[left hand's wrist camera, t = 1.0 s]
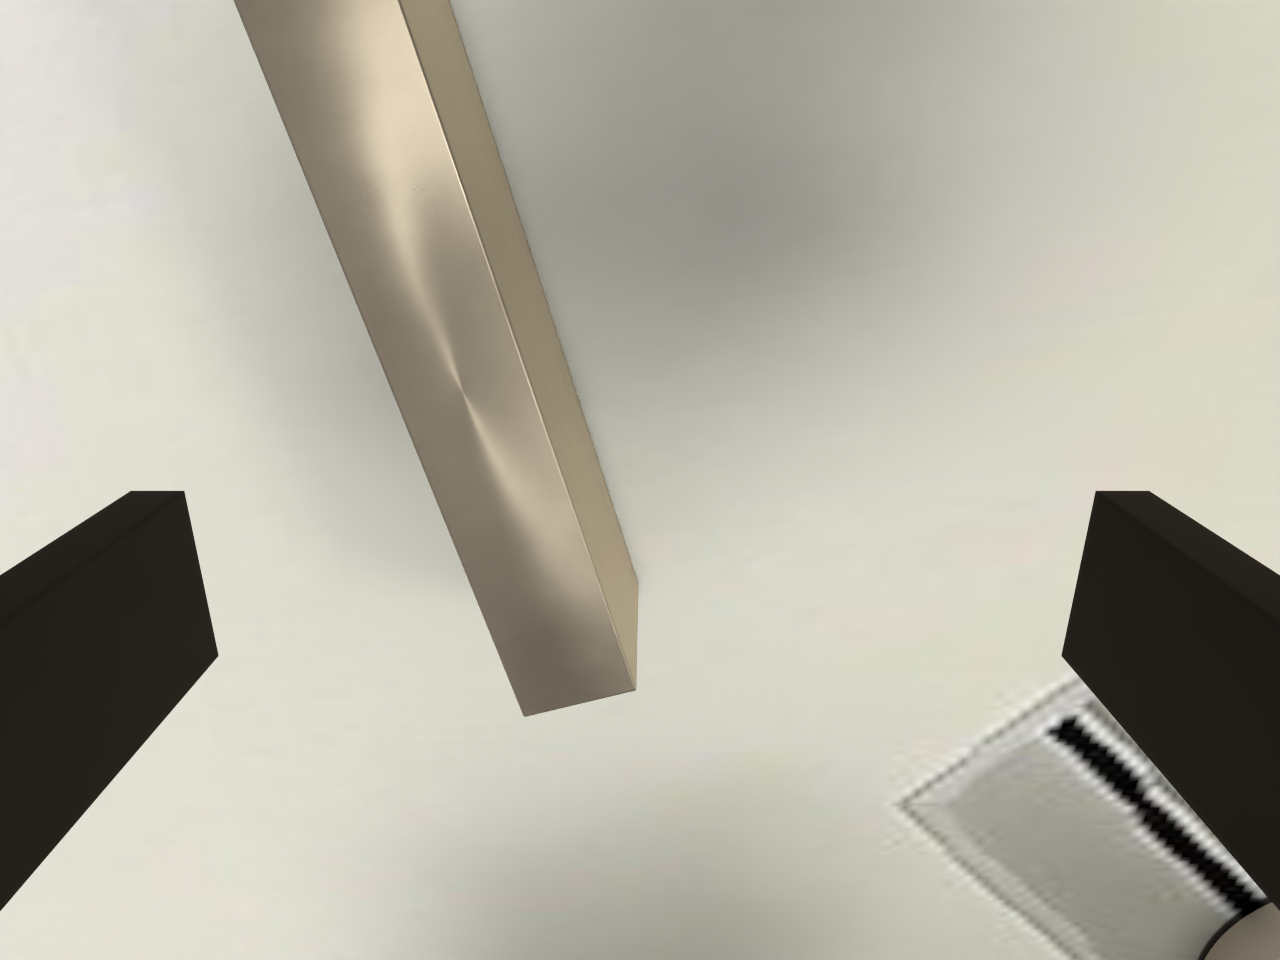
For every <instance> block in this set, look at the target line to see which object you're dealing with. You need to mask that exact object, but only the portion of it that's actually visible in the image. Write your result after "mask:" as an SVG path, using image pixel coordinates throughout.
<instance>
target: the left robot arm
mask: <svg viewBox="0 0 1280 960" xmlns="http://www.w3.org/2000/svg"><path fill="white" fill-rule="evenodd" d="M217 657H218V651H217V646H216V642H215V637H214V632H213V627H212V622H211V618H210V613H209V608H208V603H207V598H206V594H205V589H204V584H203V579H202V574H201V570H200V565H199V560H198V555H197V550H196V546H195V541H194V536H193V531H192V526H191V521H190V517H189V512H188V507H187V502H186V497H185V493H184V491H130V492H129V493H127V494H126V495H124V496H122V497H121V498H119V499H118V500H116V501H115V502H113V503H112V504H110V505H109V506H107V507H105V508H104V509H102V510H101V511H99V512H98V513H96V514H95V515H93V516H92V517H90V518H88V519H87V520H85V521H84V522H82V523H81V524H79V525H78V526H76V527H74V528H73V529H71V530H70V531H68V532H67V533H65V534H64V535H62V536H61V537H59V538H57V539H56V540H54V541H53V542H51V543H50V544H48V545H47V546H45V547H43V548H42V549H40V550H39V551H37V552H36V553H34V554H33V555H31V556H30V557H28V558H26V559H25V560H23V561H22V562H20V563H19V564H17V565H16V566H14V567H12V568H11V569H9V570H8V571H6V572H5V573H3V574H2V575H0V911H1V910H2V908H3V907H4V906H5V905H6V904H7V903H8V901H9V900H10V899H11V898H12V897H13V896H14V894H15V893H16V892H17V891H18V890H19V889H20V887H21V886H22V885H23V884H24V883H25V882H26V880H27V879H28V878H29V877H30V876H31V875H32V873H33V872H34V871H35V870H36V869H37V867H38V866H39V865H40V864H41V863H42V862H43V860H44V859H45V858H46V857H47V856H48V855H49V853H50V852H51V851H52V850H53V849H54V848H55V846H56V845H57V844H58V843H59V842H60V841H61V839H62V838H63V837H64V836H65V835H66V834H67V832H68V831H69V830H70V829H71V828H72V827H73V825H74V824H75V823H76V822H77V821H78V820H79V818H80V817H81V816H82V815H83V814H84V812H85V811H86V810H87V809H88V808H89V807H90V805H91V804H92V803H93V802H94V801H95V800H96V798H97V797H98V796H99V795H100V794H101V793H102V791H103V790H104V789H105V788H106V787H107V786H108V784H109V783H110V782H111V781H112V780H113V779H114V777H115V776H116V775H117V774H118V773H119V772H120V770H121V769H122V768H123V767H124V766H125V765H126V763H127V762H128V761H129V760H130V759H131V757H132V756H133V755H134V754H135V753H136V752H137V750H138V749H139V748H140V747H141V746H142V745H143V743H144V742H145V741H146V740H147V739H148V738H149V736H150V735H151V734H152V733H153V732H154V731H155V729H156V728H157V727H158V726H159V725H160V724H161V722H162V721H163V720H164V719H165V718H166V717H167V715H168V714H169V713H170V712H171V711H172V710H173V708H174V707H175V706H176V705H177V704H178V703H179V701H180V700H181V699H182V698H183V697H184V695H185V694H186V693H187V692H188V691H189V690H190V688H191V687H192V686H193V685H194V684H195V683H196V681H197V680H198V679H199V678H200V677H201V676H202V674H203V673H204V672H205V671H206V670H207V669H208V667H209V666H210V665H211V664H212V663H213V662H214V660H215V659H216V658H217ZM1062 657H1063V658H1064V659H1065V660H1066V662H1067V663H1068V664H1069V665H1070V666H1071V667H1072V669H1073V670H1074V671H1075V672H1076V673H1077V674H1078V676H1079V677H1080V678H1081V679H1082V680H1083V681H1084V683H1085V684H1086V685H1087V686H1088V687H1089V688H1090V690H1091V691H1092V692H1093V693H1094V694H1095V695H1096V697H1097V698H1098V699H1099V700H1100V701H1101V703H1102V704H1103V705H1104V706H1105V707H1106V708H1107V710H1108V711H1109V712H1110V713H1111V714H1112V715H1113V717H1114V718H1115V719H1116V720H1117V721H1118V722H1119V724H1120V725H1121V726H1122V727H1123V728H1124V729H1125V731H1126V732H1127V733H1128V734H1129V735H1130V736H1131V738H1132V739H1133V740H1134V741H1135V742H1136V743H1137V745H1138V746H1139V747H1140V748H1141V749H1142V750H1143V752H1144V753H1145V754H1146V755H1147V756H1148V757H1149V759H1150V760H1151V761H1152V762H1153V763H1154V765H1155V766H1156V767H1157V768H1158V769H1159V770H1160V772H1161V773H1162V774H1163V775H1164V776H1165V777H1166V779H1167V780H1168V781H1169V782H1170V783H1171V784H1172V786H1173V787H1174V788H1175V789H1176V790H1177V791H1178V793H1179V794H1180V795H1181V796H1182V797H1183V798H1184V800H1185V801H1186V802H1187V803H1188V804H1189V805H1190V807H1191V808H1192V809H1193V810H1194V811H1195V812H1196V814H1197V815H1198V816H1199V817H1200V818H1201V820H1202V821H1203V822H1204V823H1205V824H1206V825H1207V827H1208V828H1209V829H1210V830H1211V831H1212V832H1213V834H1214V835H1215V836H1216V837H1217V838H1218V839H1219V841H1220V842H1221V843H1222V844H1223V845H1224V846H1225V848H1226V849H1227V850H1228V851H1229V852H1230V853H1231V855H1232V856H1233V857H1234V858H1235V859H1236V860H1237V862H1238V863H1239V864H1240V865H1241V866H1242V867H1243V869H1244V870H1245V871H1246V872H1247V873H1248V875H1249V876H1250V877H1251V878H1252V879H1253V880H1254V882H1255V883H1256V884H1257V885H1258V886H1259V887H1260V889H1261V890H1262V891H1263V892H1264V893H1265V894H1266V896H1267V897H1268V898H1269V899H1270V900H1271V901H1272V903H1273V904H1274V905H1275V906H1276V907H1277V908H1278V910H1279V911H1280V575H1278V574H1277V573H1275V572H1274V571H1272V570H1271V569H1269V568H1268V567H1266V566H1264V565H1263V564H1261V563H1260V562H1258V561H1257V560H1255V559H1254V558H1252V557H1250V556H1249V555H1247V554H1246V553H1244V552H1243V551H1241V550H1240V549H1238V548H1237V547H1235V546H1233V545H1232V544H1230V543H1229V542H1227V541H1226V540H1224V539H1223V538H1221V537H1219V536H1218V535H1216V534H1215V533H1213V532H1212V531H1210V530H1209V529H1207V528H1206V527H1204V526H1202V525H1201V524H1199V523H1198V522H1196V521H1195V520H1193V519H1192V518H1190V517H1188V516H1187V515H1185V514H1184V513H1182V512H1181V511H1179V510H1178V509H1176V508H1175V507H1173V506H1171V505H1170V504H1168V503H1167V502H1165V501H1164V500H1162V499H1161V498H1159V497H1158V496H1156V495H1154V494H1153V493H1151V492H1150V491H1096V493H1095V497H1094V502H1093V507H1092V512H1091V517H1090V521H1089V526H1088V531H1087V536H1086V541H1085V545H1084V550H1083V555H1082V560H1081V565H1080V570H1079V574H1078V579H1077V584H1076V589H1075V594H1074V598H1073V603H1072V608H1071V613H1070V618H1069V622H1068V627H1067V632H1066V637H1065V642H1064V646H1063V651H1062Z"/></svg>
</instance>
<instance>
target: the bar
mask: <svg viewBox="0 0 1280 960" xmlns="http://www.w3.org/2000/svg"><path fill="white" fill-rule="evenodd" d="M234 2H235V5H236V7H237V10H238V12H239V15H240V17H241V20H242V22H243V25H244V27H245V30H246V32H247V34H248V37H249V39H250V42H251V44H252V47H253V49H254V52H255V54H256V57H257V59H258V62H259V64H260V67H261V69H262V71H263V74H264V76H265V79H266V81H267V84H268V86H269V89H270V91H271V94H272V96H273V99H274V101H275V104H276V106H277V108H278V111H279V113H280V116H281V118H282V121H283V123H284V126H285V128H286V131H287V133H288V136H289V138H290V141H291V143H292V146H293V148H294V150H295V153H296V155H297V158H298V160H299V163H300V165H301V168H302V170H303V173H304V175H305V178H306V180H307V183H308V185H309V187H310V190H311V192H312V195H313V197H314V200H315V202H316V205H317V207H318V210H319V212H320V215H321V217H322V220H323V222H324V225H325V227H326V229H327V232H328V234H329V237H330V239H331V242H332V244H333V247H334V249H335V252H336V254H337V257H338V259H339V262H340V264H341V266H342V269H343V271H344V274H345V276H346V279H347V281H348V284H349V286H350V289H351V291H352V294H353V296H354V299H355V301H356V303H357V306H358V308H359V311H360V313H361V316H362V318H363V321H364V323H365V326H366V328H367V331H368V333H369V336H370V338H371V341H372V343H373V345H374V348H375V350H376V353H377V355H378V358H379V360H380V363H381V365H382V368H383V370H384V373H385V375H386V378H387V380H388V382H389V385H390V387H391V390H392V392H393V395H394V397H395V400H396V402H397V405H398V407H399V410H400V412H401V415H402V417H403V420H404V422H405V424H406V427H407V429H408V432H409V434H410V437H411V439H412V442H413V444H414V447H415V449H416V452H417V454H418V457H419V459H420V461H421V464H422V466H423V469H424V471H425V474H426V476H427V479H428V481H429V484H430V486H431V489H432V491H433V494H434V496H435V498H436V501H437V503H438V506H439V508H440V511H441V513H442V516H443V518H444V521H445V523H446V526H447V528H448V531H449V533H450V536H451V538H452V540H453V543H454V545H455V548H456V550H457V553H458V555H459V558H460V560H461V563H462V565H463V568H464V570H465V573H466V575H467V577H468V580H469V582H470V585H471V587H472V590H473V592H474V595H475V597H476V600H477V602H478V605H479V607H480V610H481V612H482V614H483V617H484V619H485V622H486V624H487V627H488V629H489V632H490V634H491V637H492V639H493V642H494V644H495V647H496V649H497V652H498V654H499V656H500V659H501V661H502V664H503V666H504V669H505V671H506V674H507V676H508V679H509V681H510V684H511V686H512V689H513V691H514V693H515V696H516V698H517V701H518V703H519V706H520V708H521V711H522V713H523V716H525V717H526V716H530V715H534V714H538V713H543V712H547V711H551V710H555V709H559V708H564V707H568V706H572V705H576V704H580V703H585V702H589V701H593V700H597V699H601V698H606V697H610V696H614V695H618V694H622V693H626V692H631V691H635V690H636V675H637V626H638V581H637V578H636V575H635V572H634V569H633V566H632V563H631V560H630V556H629V553H628V550H627V547H626V544H625V541H624V538H623V535H622V532H621V529H620V526H619V523H618V519H617V516H616V513H615V510H614V507H613V504H612V501H611V498H610V495H609V492H608V489H607V486H606V483H605V479H604V476H603V473H602V470H601V467H600V464H599V461H598V458H597V455H596V452H595V449H594V446H593V442H592V439H591V436H590V433H589V430H588V427H587V424H586V421H585V418H584V415H583V412H582V409H581V405H580V402H579V399H578V396H577V393H576V390H575V387H574V384H573V381H572V378H571V375H570V372H569V369H568V365H567V362H566V359H565V356H564V353H563V350H562V347H561V344H560V341H559V338H558V335H557V332H556V328H555V325H554V322H553V319H552V316H551V313H550V310H549V307H548V304H547V301H546V298H545V295H544V291H543V288H542V285H541V282H540V279H539V276H538V273H537V270H536V267H535V264H534V261H533V258H532V255H531V251H530V248H529V245H528V242H527V239H526V236H525V233H524V230H523V227H522V224H521V221H520V218H519V214H518V211H517V208H516V205H515V202H514V199H513V196H512V193H511V190H510V187H509V184H508V181H507V177H506V174H505V171H504V168H503V165H502V162H501V159H500V156H499V153H498V150H497V147H496V144H495V140H494V137H493V134H492V131H491V128H490V125H489V122H488V119H487V116H486V113H485V110H484V107H483V104H482V100H481V97H480V94H479V91H478V88H477V85H476V82H475V79H474V76H473V73H472V70H471V67H470V63H469V60H468V57H467V54H466V51H465V48H464V45H463V42H462V39H461V36H460V33H459V30H458V26H457V23H456V20H455V17H454V14H453V11H452V8H451V5H450V2H449V0H234Z"/></svg>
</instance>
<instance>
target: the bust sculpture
mask: <svg viewBox="0 0 1280 960" xmlns="http://www.w3.org/2000/svg"><path fill="white" fill-rule="evenodd" d="M1205 960H1280V911H1279V910H1278V908H1277V907H1276V906H1275V905H1274V904H1273V903H1272V902H1271V903H1269V904H1267V905H1265V906H1263V907H1261V908H1259V909H1257V910H1255V911H1254V912H1252V913H1250V914H1249V915H1247V916H1246V917H1244V918H1243V919H1241V920H1240V921H1239V922H1237V923H1236V924H1235V925H1233V926H1232V927H1231V928H1230V929H1229V930H1228V931H1227V932H1225V933H1224V934H1223V935H1222V936H1221V937H1220V939H1219V940H1218V941H1217V942H1216V943H1215V944H1214V946H1213V947H1212V948H1211V950H1210V951H1209V953H1208V954H1207V956H1206V958H1205Z"/></svg>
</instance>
